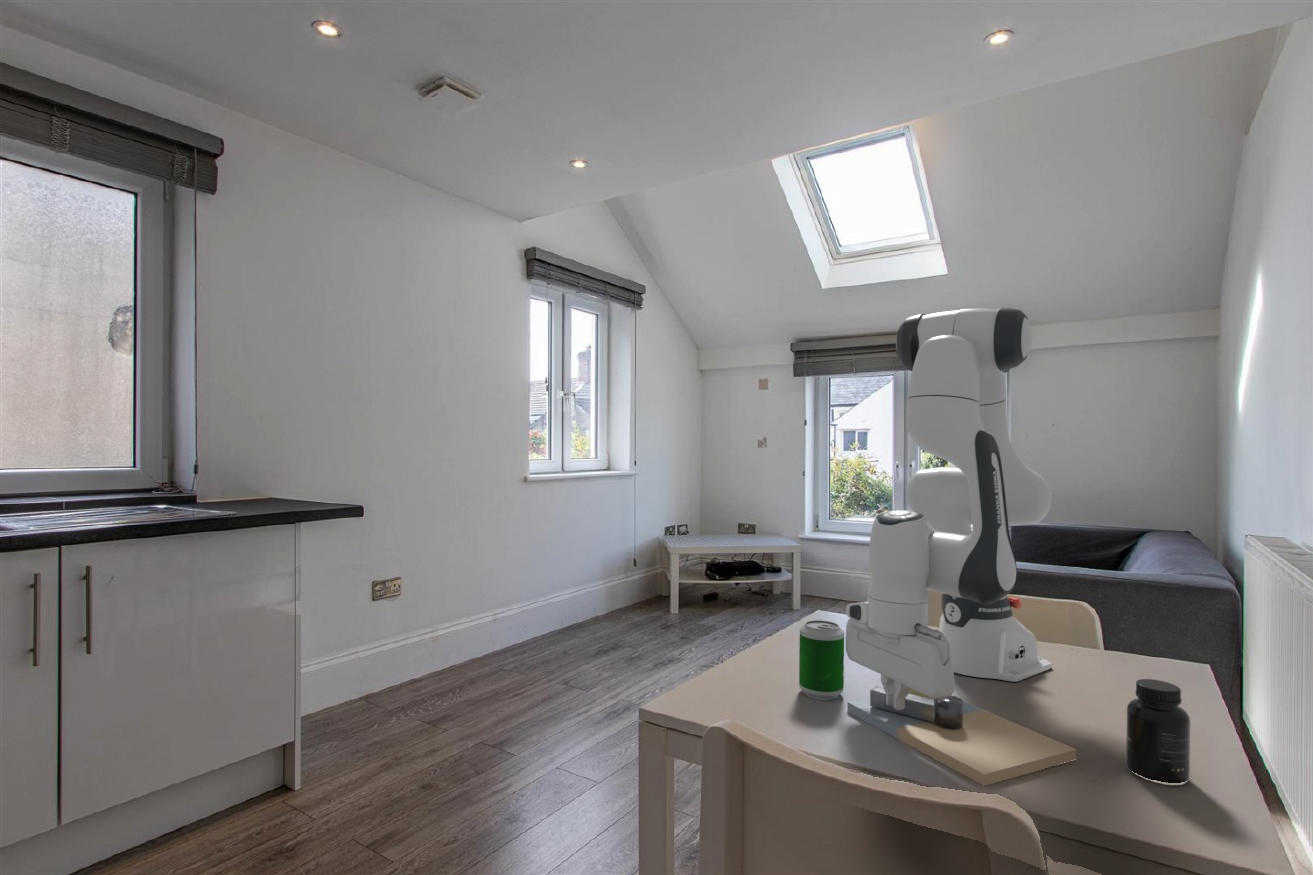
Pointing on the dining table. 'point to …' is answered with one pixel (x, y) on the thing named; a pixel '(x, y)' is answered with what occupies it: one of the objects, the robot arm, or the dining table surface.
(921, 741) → the door board
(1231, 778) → the dining table surface
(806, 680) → the soda can
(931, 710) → the swing bar
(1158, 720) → the supplement bottle
